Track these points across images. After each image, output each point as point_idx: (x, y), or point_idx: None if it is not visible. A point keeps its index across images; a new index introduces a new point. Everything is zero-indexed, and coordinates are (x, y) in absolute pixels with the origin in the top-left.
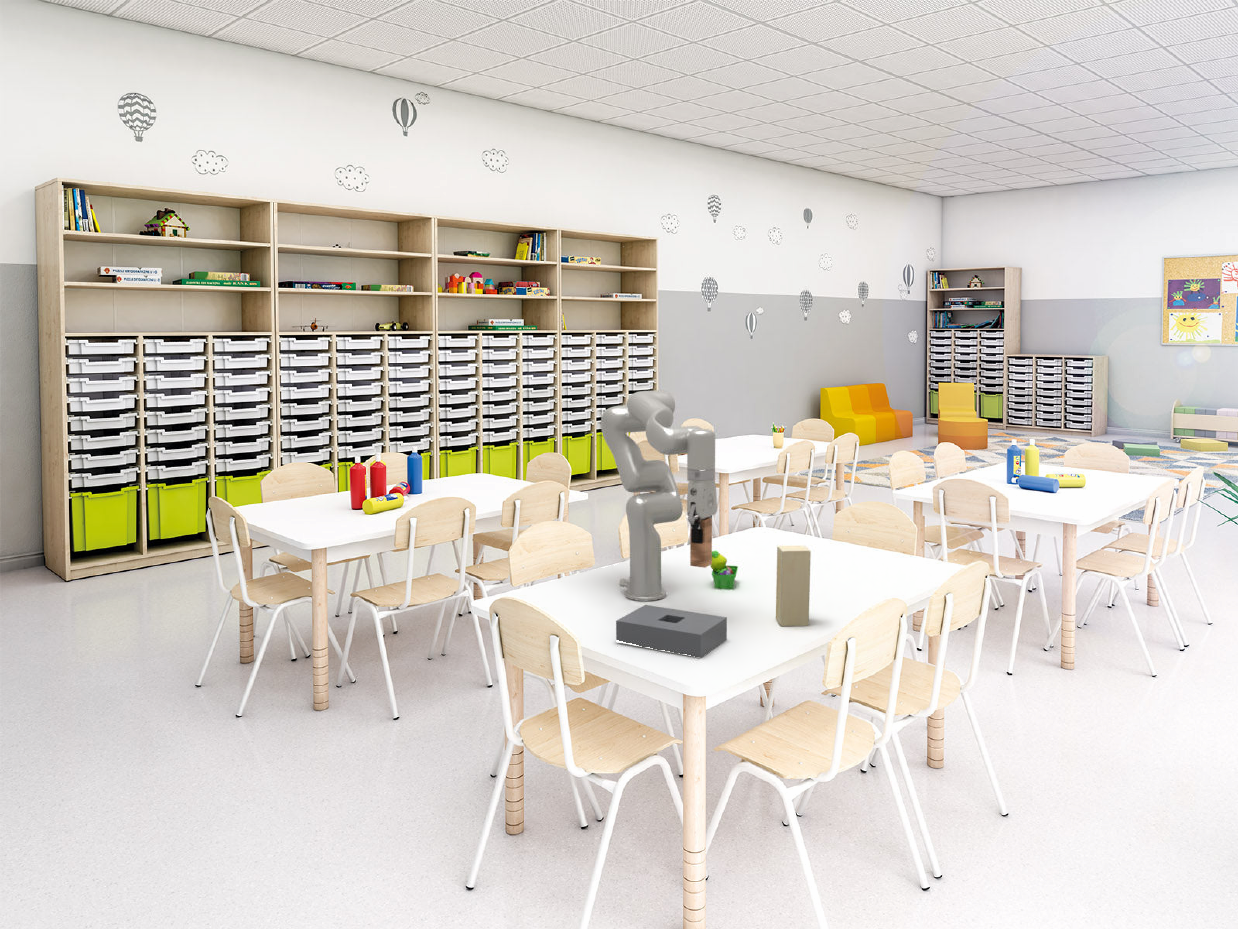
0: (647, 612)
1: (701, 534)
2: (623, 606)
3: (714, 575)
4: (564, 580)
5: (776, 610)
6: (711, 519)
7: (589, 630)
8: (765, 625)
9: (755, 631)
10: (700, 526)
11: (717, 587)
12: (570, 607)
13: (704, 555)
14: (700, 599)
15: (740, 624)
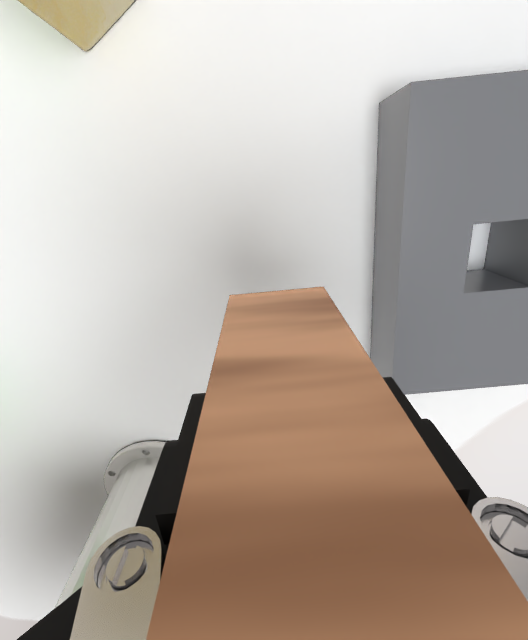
0: (463, 352)
1: (430, 439)
2: None
3: None
4: None
5: (76, 29)
6: (173, 619)
7: (452, 439)
8: (171, 54)
9: (251, 54)
10: (517, 545)
11: None
12: None
13: (341, 316)
14: (86, 369)
15: (214, 144)
